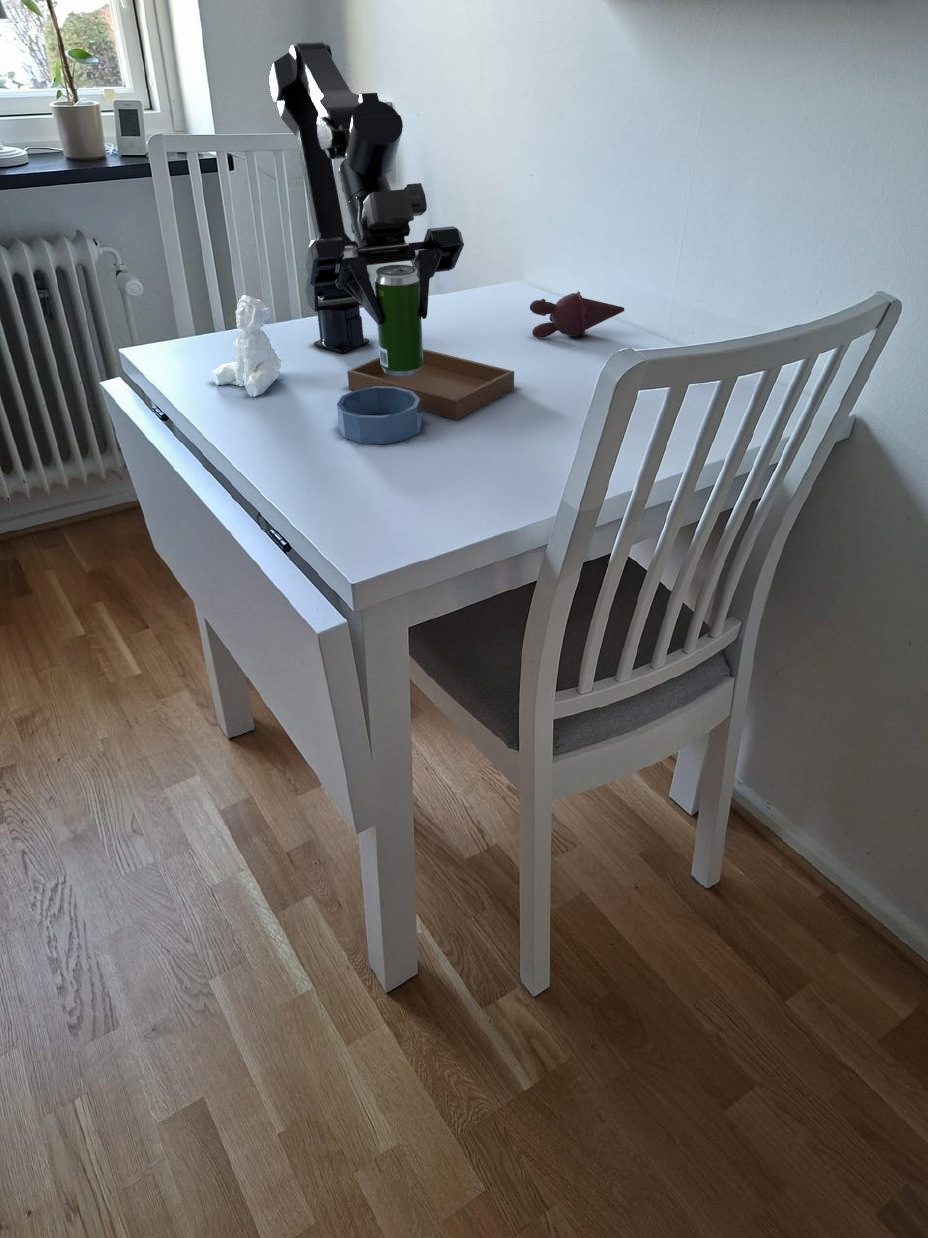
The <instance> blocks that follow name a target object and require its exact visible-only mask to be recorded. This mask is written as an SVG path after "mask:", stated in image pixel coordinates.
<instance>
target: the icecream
mask: <svg viewBox="0 0 928 1238" xmlns="http://www.w3.org/2000/svg"><path fill="white" fill-rule="evenodd" d="M529 310H530V311H531V312H532V314H535V315H537V316H543V317H546V316H547V315H549V321H548V322H543V323H540V324H538V325H536V326H534V328H532V331H531V333H532V336H533V337H534V338H537V339H541V338H547V337H549V336H551V335H553V334H555V333H556V332H557V331H558V332H559V333H560V334H563V335H566V336H568V337H574V338H575V337H576V338H577V337H583V338H584V336H585V333H586V330H589V329H590V328H593V327H594V326H596V325H599V324H601V323H603V322H605V321H607V320H609V319H611V318H613V317H616V316H617V315H619V314H621V313H623V312H625V307H624V306H620V305H615V304H611V303H606V302H603V301H599V300H594V299H589V298H585V297H583V295H581V292H580V291H579V290H578V291H577V292H571V293H569V294H567V295H564V296H563V297H561V298H560V299H558V300H557V302H556V303H553V302H550V301H546V299H545V298H542V299H535V300H533V301H532V302H530V304H529Z"/></svg>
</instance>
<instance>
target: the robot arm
mask: <svg viewBox="0 0 928 1238" xmlns="http://www.w3.org/2000/svg"><path fill="white" fill-rule="evenodd" d="M288 51H289V52H287V53H286V54H283V55H282V56H280V57H279V58H278V59H276V60H275V61H274V62H273V63H272V67H271V71H270V75H269V85H270V91H271V92H270V93H271V96H272V99H273V102H276V103H277V108H278V111H279V116H280V118H281V120H282V121H283V123H284V124H285V125H286V126H287V127H288V128H289V130H290V131H291V132H292V134H293V135H294V137H295V140H296V145H297V150H298V155H299V160H300V166H301V173H302V177H303V181H304V182H303V183H304V186H305V192H306V197H307V202H308V207H309V212H310V217H311V222H312V229H313V233H314V239H312V240H311V242H310V244H309V245H308V246H307V247H308V249H307V255H306V264H305V266H306V274H307V276H306V277H307V278H306V283H305V294H306V300H307V305H308V306H309V307H310V309H312V311H313V312H314V313H316V314H317V322H318V323H317V324H318V331H319V338H320V339H318V340H316V341H314V342H312V343H313V346H314V347H317V348H321V349H324V350H328V351H333V352H336V353H340V354H343V353H347V352H349V351H351V350H354V349H357V348H359V347H362V346H364V345H366V344H369V343H370V339H369V338H366V337H364V330H363V318H362V316H361V310H360V309H361V308H360V306H362V307H363V309H364V310H365V311H366V313H368V315H369V316H370V317H371V318H372V320H373V321H374V322H375V323H376V325H377V326H378V325H381V324H382V316H381V311H380V307H379V304H378V302H377V299H376V294H375V289H374V288H373V285H372V282H371V279H370V278H371V273H370V272H368V266H375V265H383V264H384V265H385V264H393V263H401V262H403V263H404V262H410V263H411V266H414V267H416V268H417V269H418V272H417V274H418V276H419V278H420V292H421V318H422V320H426V319H427V317H428V309H429V295H430V280H431V279H432V278H434V276H435V274H436V273H440V272H449V271H451V270H453V269H455V267H456V264H457V263H458V260H459V258H460V256H461V254H462V250H463V249H464V246H465V242H464V238H463V235H462V232H461V231H460V230H459V229H458V227H456V226H454V225H451V226H440V227H432V228H427V229H426V232H425V235H424V239H423V241H415V242H406V238H405V237H409V236H410V233H411V227H410V224H409V223H410V222H413V221H414V220H415V217H421V216H423V215H424V214H425V213H426V211H427V209H428V204H427V203H428V202H427V198H426V194H425V190H424V187H423V184H422V182H417V183H408V184H406V185H405V187H403V189H392V188H391V185H390V181H389V180H390V179H389V178H388V177H389V176H388V174H389V172H391V171H392V170H393V167H394V164H395V160H396V157H397V152H398V150H399V149H398V148H399V145H400V141H401V137H402V133H403V129H404V123H403V119H402V115H400V114H399V113H398V111H397V110H396V109H395V108H394V107H392V106H391V105H390V104H388V103H386V102H384V101H381V100H380V99H379V95H378V92H363V93H360V94H357V93H355V92H352V91H351V89H350V87H349V86H348V83H347V82H346V80H345V78H344V76H343V75H342V73H341V72H340V70H339V68H338V66H337V64H336V63H335V61H334V60H333V59H334V58H333V54H332V49H331V46H330V44H329V43H325V42H324V41H309V42H305V41H304V42H296V43H295V44H291V46H290V48H289V50H288ZM340 159H341V160H342V159H344V160H343V161H342V162H341V163H340V165H339V168H338V177H339V180H340V184H341V191H342V193H343V195H344V200H345V202H346V206H347V210H348V214H349V219H350V229H351V233H352V234H354V236H355V240H352V239H351V238H350V237H349V236H348V234H347V233H346V231H345V225H344V220H343V213H342V209H341V204H340V198H339V192H338V187H337V182H336V176H335V170H334V166H333V160H340Z"/></svg>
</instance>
